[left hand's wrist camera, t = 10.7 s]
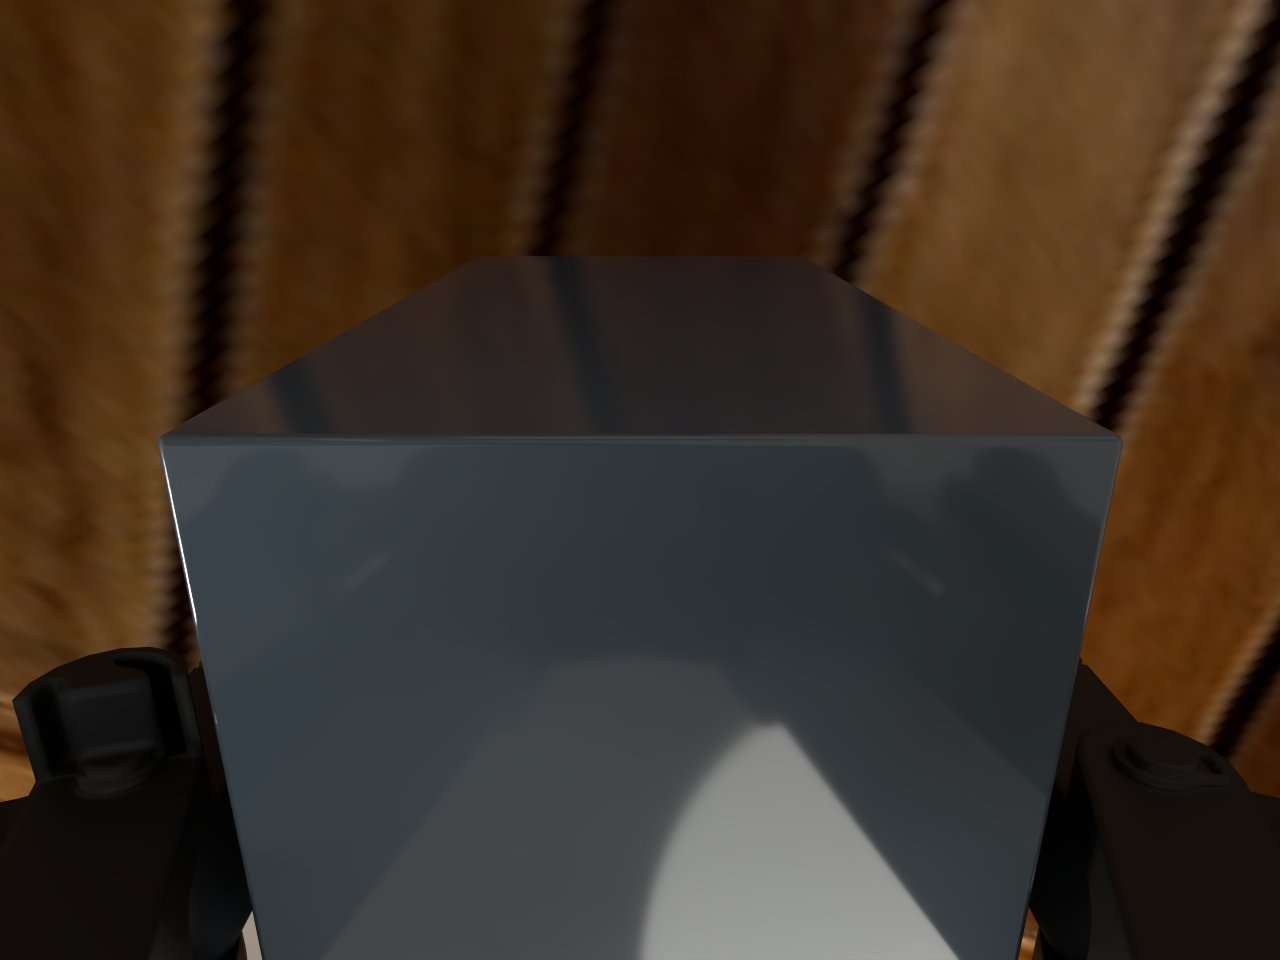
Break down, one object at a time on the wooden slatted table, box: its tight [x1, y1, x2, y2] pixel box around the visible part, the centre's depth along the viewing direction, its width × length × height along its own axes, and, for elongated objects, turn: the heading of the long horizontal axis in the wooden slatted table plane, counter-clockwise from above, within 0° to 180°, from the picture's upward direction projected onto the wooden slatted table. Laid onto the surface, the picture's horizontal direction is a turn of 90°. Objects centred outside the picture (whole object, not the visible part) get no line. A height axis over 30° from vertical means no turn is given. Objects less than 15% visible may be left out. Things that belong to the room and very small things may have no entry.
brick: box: [158, 256, 1122, 960], centre depth 12 cm, size 9×6×11 cm, turn 0°
